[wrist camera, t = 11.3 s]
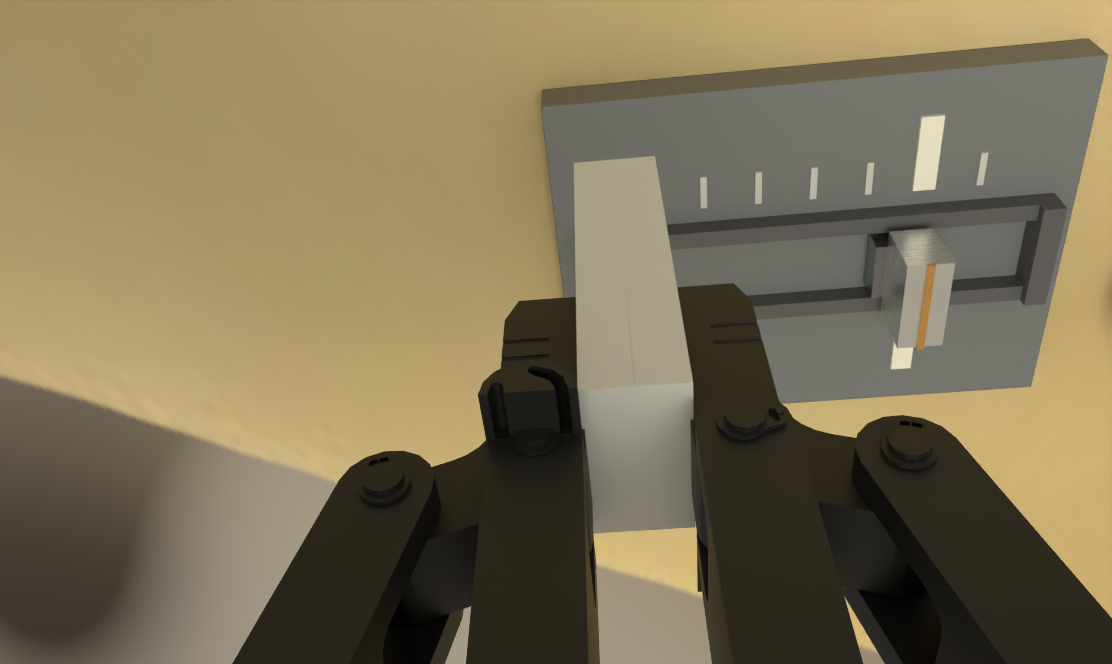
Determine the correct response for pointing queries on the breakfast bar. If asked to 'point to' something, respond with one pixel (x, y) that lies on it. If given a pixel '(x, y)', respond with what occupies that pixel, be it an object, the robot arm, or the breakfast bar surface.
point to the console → (856, 199)
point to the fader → (911, 284)
